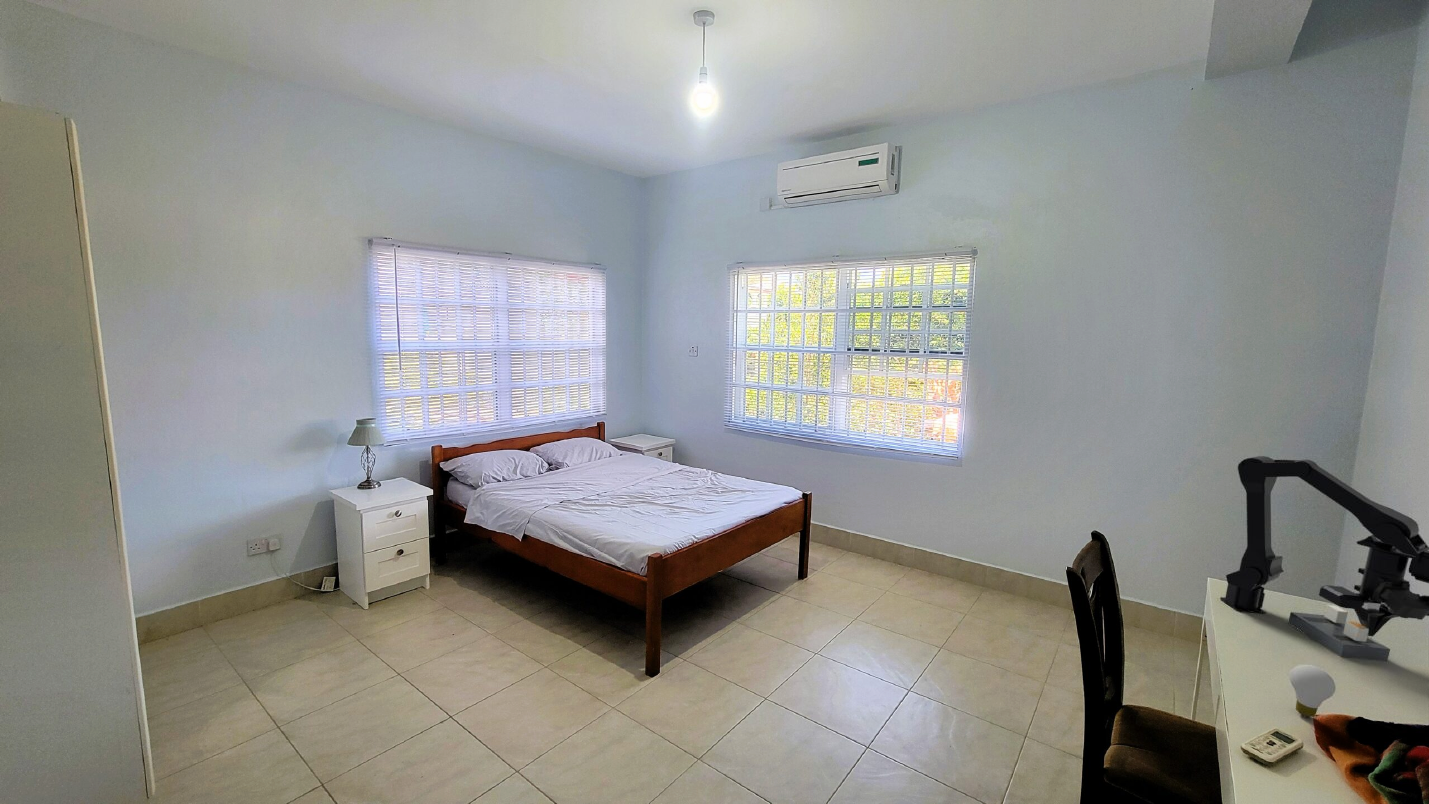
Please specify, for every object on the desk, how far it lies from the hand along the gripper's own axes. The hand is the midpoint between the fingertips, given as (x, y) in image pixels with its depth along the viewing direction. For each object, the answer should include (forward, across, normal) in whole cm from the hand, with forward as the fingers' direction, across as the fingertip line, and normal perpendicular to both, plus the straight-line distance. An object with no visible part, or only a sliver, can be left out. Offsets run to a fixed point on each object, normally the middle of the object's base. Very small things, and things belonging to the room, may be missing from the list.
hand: (1368, 635), depth 129 cm
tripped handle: (+1, -3, 0) cm, 3 cm away
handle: (+1, 0, +8) cm, 8 cm away
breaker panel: (+4, -3, +4) cm, 6 cm away
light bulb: (+4, -33, -27) cm, 43 cm away
